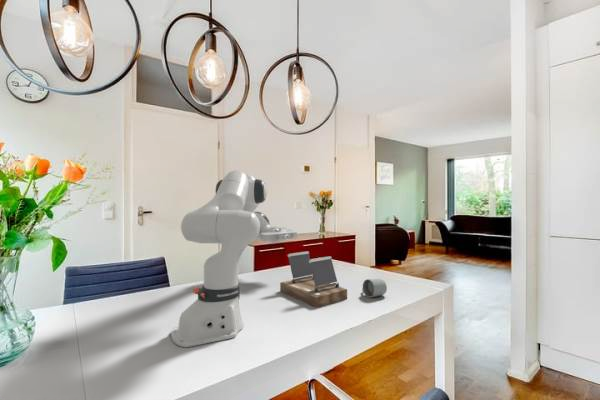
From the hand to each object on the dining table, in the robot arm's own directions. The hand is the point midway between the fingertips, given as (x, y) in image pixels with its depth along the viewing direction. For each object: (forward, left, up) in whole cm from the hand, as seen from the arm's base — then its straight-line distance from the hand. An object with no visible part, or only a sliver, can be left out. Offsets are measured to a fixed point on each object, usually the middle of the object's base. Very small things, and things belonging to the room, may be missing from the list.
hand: (287, 237), depth 152 cm
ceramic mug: (+19, -38, -23) cm, 49 cm away
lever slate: (0, -30, -18) cm, 35 cm away
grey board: (0, -14, -18) cm, 22 cm away
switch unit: (-2, -22, -23) cm, 32 cm away
